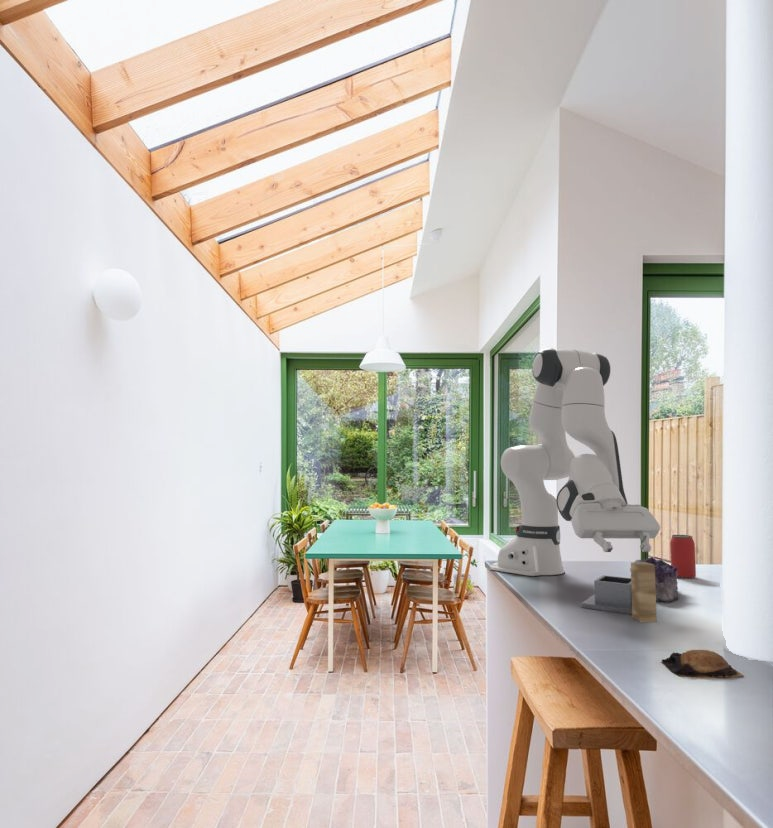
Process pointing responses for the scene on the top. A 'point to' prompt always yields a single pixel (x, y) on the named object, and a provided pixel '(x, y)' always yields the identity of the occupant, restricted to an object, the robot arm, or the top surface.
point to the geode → (664, 580)
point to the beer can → (683, 556)
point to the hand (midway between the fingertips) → (628, 550)
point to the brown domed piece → (700, 665)
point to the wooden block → (643, 592)
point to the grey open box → (611, 595)
